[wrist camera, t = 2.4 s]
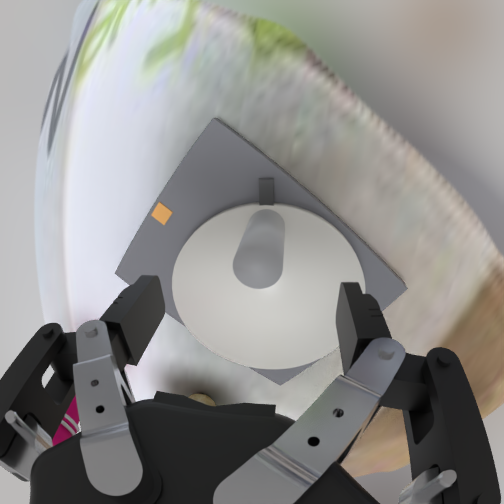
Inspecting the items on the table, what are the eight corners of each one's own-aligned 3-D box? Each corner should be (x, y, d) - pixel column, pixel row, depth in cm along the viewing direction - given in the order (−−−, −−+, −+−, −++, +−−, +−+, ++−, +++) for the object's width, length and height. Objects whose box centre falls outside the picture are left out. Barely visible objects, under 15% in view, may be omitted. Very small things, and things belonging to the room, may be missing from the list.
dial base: (403, 281, 24) (408, 289, 22) (280, 377, 31) (280, 386, 29) (217, 118, 20) (212, 118, 19) (120, 267, 27) (113, 273, 26)
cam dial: (346, 361, 27) (354, 419, 20) (190, 353, 29) (169, 407, 22) (377, 181, 19) (415, 212, 13) (162, 180, 21) (111, 208, 15)
